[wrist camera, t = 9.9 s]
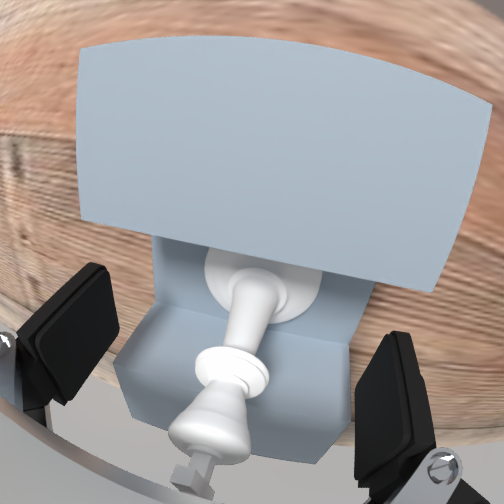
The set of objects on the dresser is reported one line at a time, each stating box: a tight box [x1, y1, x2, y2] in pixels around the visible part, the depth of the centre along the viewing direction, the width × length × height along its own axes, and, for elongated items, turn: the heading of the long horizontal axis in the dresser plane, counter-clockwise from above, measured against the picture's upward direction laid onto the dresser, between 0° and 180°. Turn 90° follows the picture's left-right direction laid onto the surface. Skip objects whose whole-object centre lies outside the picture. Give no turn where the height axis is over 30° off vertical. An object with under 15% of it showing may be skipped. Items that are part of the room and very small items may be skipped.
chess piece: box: [168, 247, 322, 501], centre depth 9 cm, size 5×5×10 cm
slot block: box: [76, 36, 492, 464], centre depth 12 cm, size 10×17×6 cm, turn 173°
